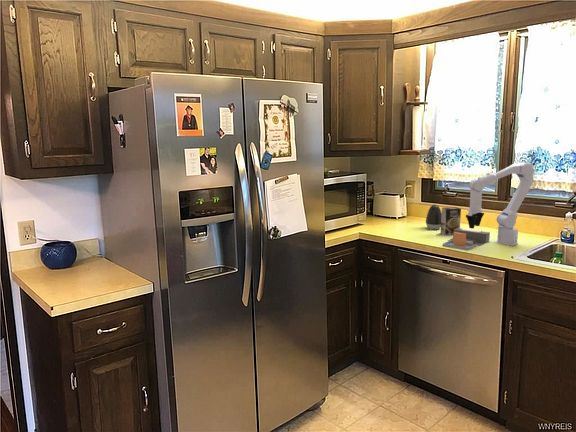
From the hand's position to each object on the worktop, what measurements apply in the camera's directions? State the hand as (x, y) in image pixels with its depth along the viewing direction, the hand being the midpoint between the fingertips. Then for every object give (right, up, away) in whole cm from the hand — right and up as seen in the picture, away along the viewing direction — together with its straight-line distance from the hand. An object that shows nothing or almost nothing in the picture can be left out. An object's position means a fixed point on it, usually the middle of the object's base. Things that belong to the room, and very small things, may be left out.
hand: (474, 227), depth 248 cm
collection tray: (-10, -11, -5) cm, 15 cm away
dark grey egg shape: (-9, -2, +41) cm, 42 cm away
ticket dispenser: (-1, -8, +6) cm, 10 cm away
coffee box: (-5, -5, +23) cm, 24 cm away
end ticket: (-10, -10, -5) cm, 15 cm away
